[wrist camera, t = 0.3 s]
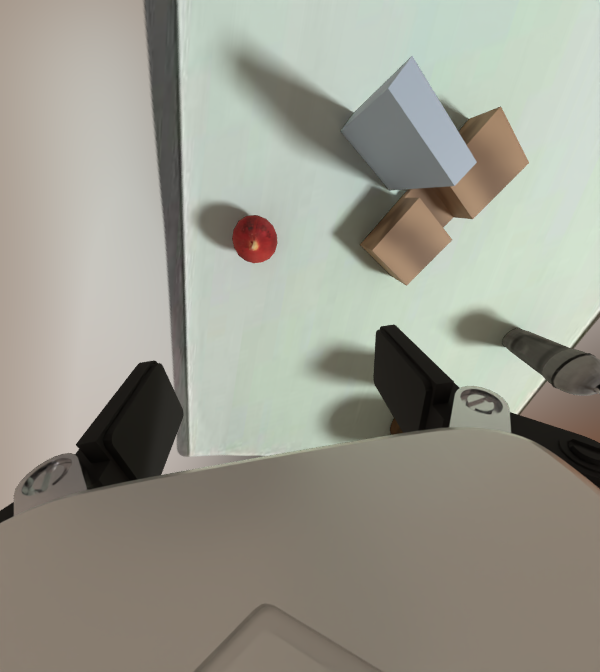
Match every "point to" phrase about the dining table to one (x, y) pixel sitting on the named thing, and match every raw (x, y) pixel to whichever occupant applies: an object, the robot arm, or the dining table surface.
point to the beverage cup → (556, 362)
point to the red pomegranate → (254, 239)
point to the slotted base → (446, 200)
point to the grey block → (408, 134)
